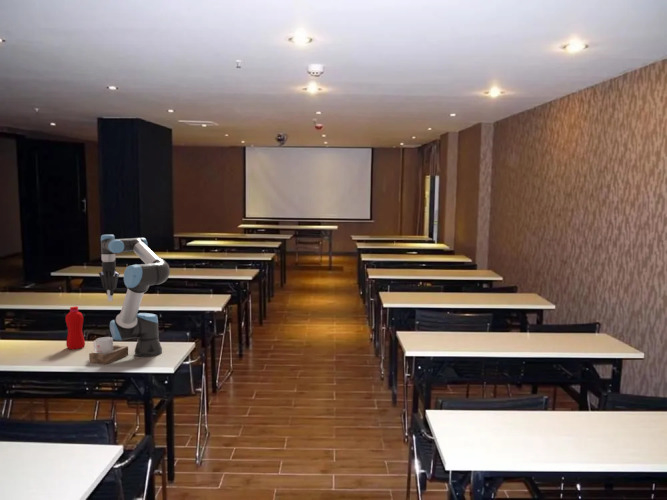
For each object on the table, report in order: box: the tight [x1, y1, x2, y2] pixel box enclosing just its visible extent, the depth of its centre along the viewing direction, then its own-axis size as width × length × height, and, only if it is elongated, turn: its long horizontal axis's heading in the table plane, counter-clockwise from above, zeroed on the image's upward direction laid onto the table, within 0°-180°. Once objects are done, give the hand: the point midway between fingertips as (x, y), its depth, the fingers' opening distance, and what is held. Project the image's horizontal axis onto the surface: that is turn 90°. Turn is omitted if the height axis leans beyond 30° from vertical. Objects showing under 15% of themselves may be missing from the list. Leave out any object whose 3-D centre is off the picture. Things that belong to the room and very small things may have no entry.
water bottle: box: [65, 306, 86, 351], centre depth 350 cm, size 9×11×25 cm
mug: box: [93, 336, 114, 354], centre depth 329 cm, size 12×9×11 cm
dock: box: [88, 344, 129, 365], centre depth 328 cm, size 11×19×5 cm, turn 163°
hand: (110, 300), depth 343 cm, fingers closed
